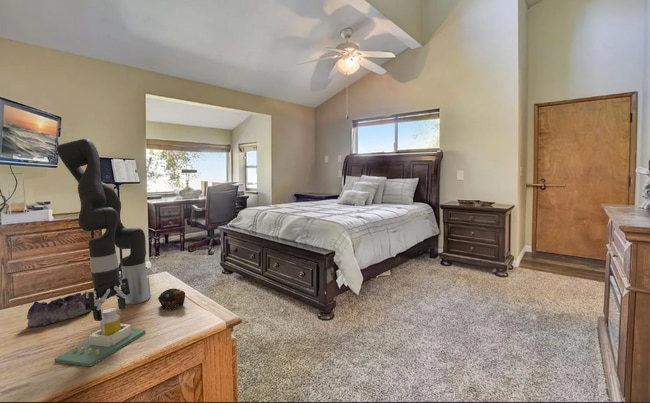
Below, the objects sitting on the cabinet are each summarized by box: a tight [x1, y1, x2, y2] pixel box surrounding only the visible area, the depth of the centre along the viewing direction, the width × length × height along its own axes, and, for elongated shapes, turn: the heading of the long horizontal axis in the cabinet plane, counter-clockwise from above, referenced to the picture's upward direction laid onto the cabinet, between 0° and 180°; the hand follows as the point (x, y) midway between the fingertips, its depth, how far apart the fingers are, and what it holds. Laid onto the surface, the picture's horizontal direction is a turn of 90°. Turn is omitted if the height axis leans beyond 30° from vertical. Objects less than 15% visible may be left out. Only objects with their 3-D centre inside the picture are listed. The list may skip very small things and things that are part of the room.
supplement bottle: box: [99, 307, 121, 336], centre depth 106 cm, size 5×5×10 cm
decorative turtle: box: [157, 288, 186, 311], centre depth 132 cm, size 10×15×8 cm, turn 70°
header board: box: [54, 323, 146, 367], centre depth 103 cm, size 20×14×4 cm
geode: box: [26, 292, 90, 329], centre depth 127 cm, size 20×12×10 cm, turn 142°
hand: (110, 314), depth 105 cm, fingers open, 8 cm apart
